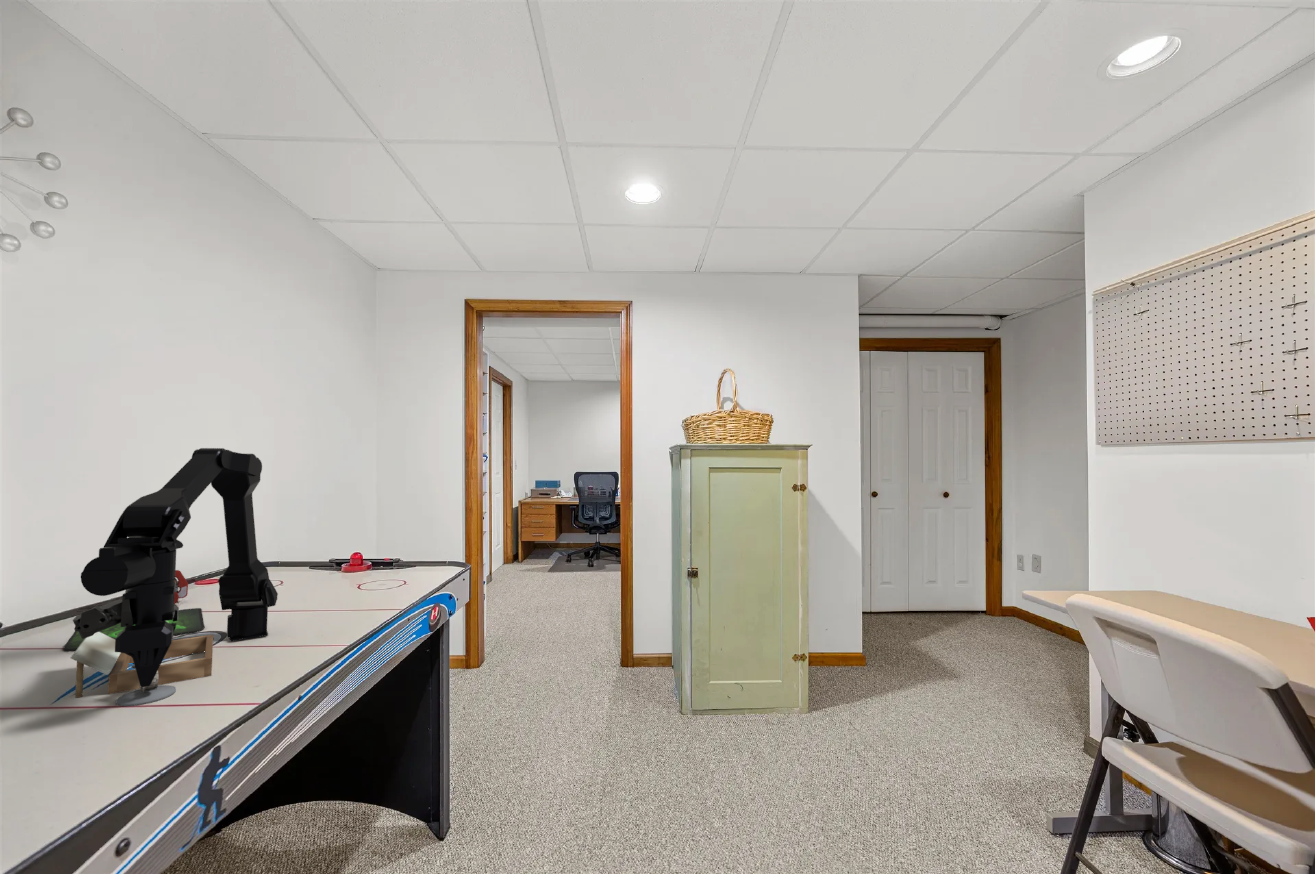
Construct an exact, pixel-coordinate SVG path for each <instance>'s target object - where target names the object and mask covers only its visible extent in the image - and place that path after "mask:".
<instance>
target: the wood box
mask: <svg viewBox="0 0 1315 874" xmlns="http://www.w3.org/2000/svg"><path fill="white" fill-rule="evenodd" d="M213 647H214V634H207V635H200V636H194V637H193V636H192V637H186V638H179V639H174V640H173V639H172V643H171V645H170V647H169V649H168V651H167V653H166V655H165V657H164V659H163V660H165V659H171V658H170V657H172V658H177V657H183V656H182V655H185V656H189V655H188V654H191V655H193V654H192V653H197V654H201V653H200V652H204V651H205V652H204V657H201V658H195V659H189V660H182V661H176V662H170V663H165V664H164V663H163V664H161V665H160V667H159V669H158V675H159V680H158V686H161V685H168V684H172V683H178V682H182V681H189V680H194V679H199V678H205V677H211V676H212V674H213V673H212V670H213V669H212V668H213V652H214V651H213V650H214V649H213ZM70 659H71V660H73V661H76V672H75V673H76V675H75V696H74V697H75V699H77V698H82V697H83V689H84V675H85V674H84V670H85V668H84V667H85V666H87V667H89V668H91V669H93V670H95V671H97V672H100V673H102V674H104V675H106V676H108V684H107V685H108V687H107V695H110V694H111V695H112V694H117V693H123V692H127V691H128V692H130V691H135V690H138V689H140V687H139V679H138V675H137V672H136V669H134V668H132V669H129V666H130V664H129V663H134V661H133V658H132V657H131V656H129V655H127V654H125V653H121V652H115V639H113V638H111V637H109V636H107V635H105V634H103V633H101V632H97V633H94V635H93V636H90V637H87V638H85V639H84V641H83V642H82V643H81V644H80V646H79V647H78V648H77V650H76V651H73V654H72V655H71V656H70ZM127 668H128V669H129V670H128V669H127Z"/></svg>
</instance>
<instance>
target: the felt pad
mask: <svg viewBox="0 0 1315 874" xmlns="http://www.w3.org/2000/svg"><path fill="white" fill-rule="evenodd" d="M176 691H177V690H176V686H175V685H169V684H162V685H158V687H157V689H155V690H151V691H147V692H141V690H140V689H134V690H130V691H128V692H127V693H126V692H125V693H124V694H122V695H120V696H118V697H117V699H116V700H115V703H116V705H117V706H121V707H135V706H134V705H136V706H143V705H147V704H151V703H154V702H158V700H159V701H161V699H162V700H163V699H167V698H169V697H170V696H173V695H174V694H175V693H176ZM146 703H147V704H146Z"/></svg>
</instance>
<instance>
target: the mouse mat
mask: <svg viewBox="0 0 1315 874" xmlns="http://www.w3.org/2000/svg"><path fill="white" fill-rule="evenodd" d="M166 622H168V623H169V624H171V623H177V625H176V628H175V630H174V632H173V635H175V636H180V634H181V635H186V634H185V633H188V634H191V633H192V634H193V633H198V632H201V631H203V630H204V629H205V628H206V626H205V622H204V615H203V609H202V608H201V607H196V608H195V607H193V608H184V609H179V612H178V620H177V621H173V620H168V621H166ZM125 628H126V627H121V623H119V624H117V625H114V626H112V627H109V628H107V629H104V630H102V631H99V632H101V633H103V634H105V635H107V636H109V637H111V638H113V639H116V637H117V636H118V634H119V633H120V632H121V631H122V630H124V629H125ZM197 631H198V632H197ZM84 639H85V638H84ZM84 639H82V638H81V636H80V634H79V632H77V631H75V630H74V632H73V634H72V636H71V637H70V638H69V639H68V641H67V642H66V643H65V645H64V646H63V648H62V650H64V651H66V652H75V651H76V650H77V648H78V647H79V646H80V644H81V643H82V642H83V641H84Z"/></svg>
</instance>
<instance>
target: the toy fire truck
mask: <svg viewBox="0 0 1315 874" xmlns="http://www.w3.org/2000/svg"><path fill="white" fill-rule="evenodd" d="M175 582H176V584H177V586H176V589H175V597H174V604H175V605H176V604H177V603H178V602H179V599H184V598H186V597H187V596H188V594H189V593H188V591H189V583H188V581H187V579H186V577H185V576H184V574H183V573H182V571H180V570H179V569H176V571H175Z"/></svg>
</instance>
